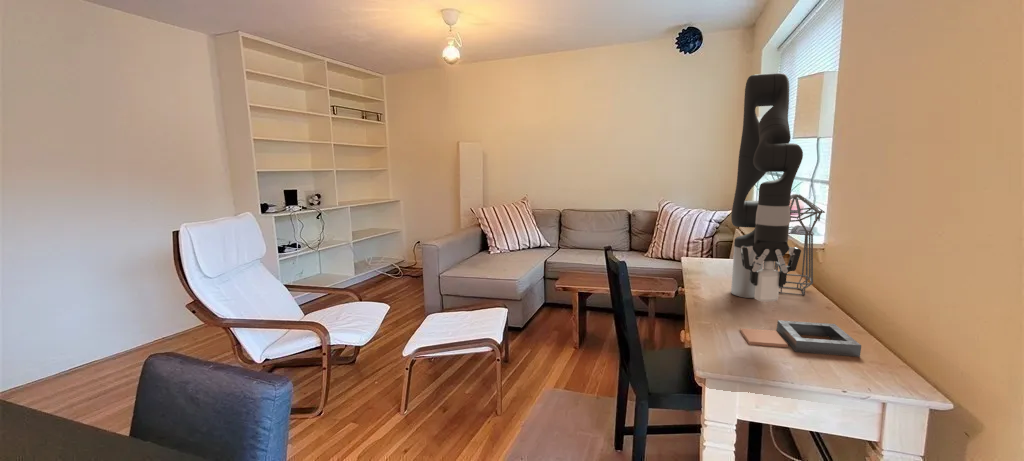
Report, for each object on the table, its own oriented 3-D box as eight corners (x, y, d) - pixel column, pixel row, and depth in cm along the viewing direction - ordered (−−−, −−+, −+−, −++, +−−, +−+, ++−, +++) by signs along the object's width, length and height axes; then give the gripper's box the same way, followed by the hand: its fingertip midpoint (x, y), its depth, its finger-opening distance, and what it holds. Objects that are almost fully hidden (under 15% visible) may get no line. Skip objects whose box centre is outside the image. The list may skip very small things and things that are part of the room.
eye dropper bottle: (779, 303, 114) (783, 258, 111) (755, 301, 116) (758, 256, 114) (776, 298, 117) (780, 254, 115) (753, 296, 120) (756, 253, 118)
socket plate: (776, 330, 124) (777, 320, 123) (833, 334, 120) (834, 323, 120) (795, 351, 110) (796, 340, 110) (859, 356, 107) (861, 345, 106)
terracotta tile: (740, 331, 124) (740, 328, 124) (775, 333, 122) (775, 330, 121) (748, 344, 115) (749, 341, 115) (787, 347, 113) (787, 344, 113)
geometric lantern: (765, 294, 155) (771, 195, 150) (763, 283, 169) (769, 192, 164) (819, 299, 148) (827, 195, 143) (812, 288, 161) (820, 193, 157)
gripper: (798, 220, 115) (792, 282, 118) (738, 219, 118) (733, 280, 121) (809, 225, 108) (803, 291, 111) (745, 224, 111) (740, 288, 114)
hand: (767, 285), depth 116 cm, fingers closed on eye dropper bottle, 5 cm apart
